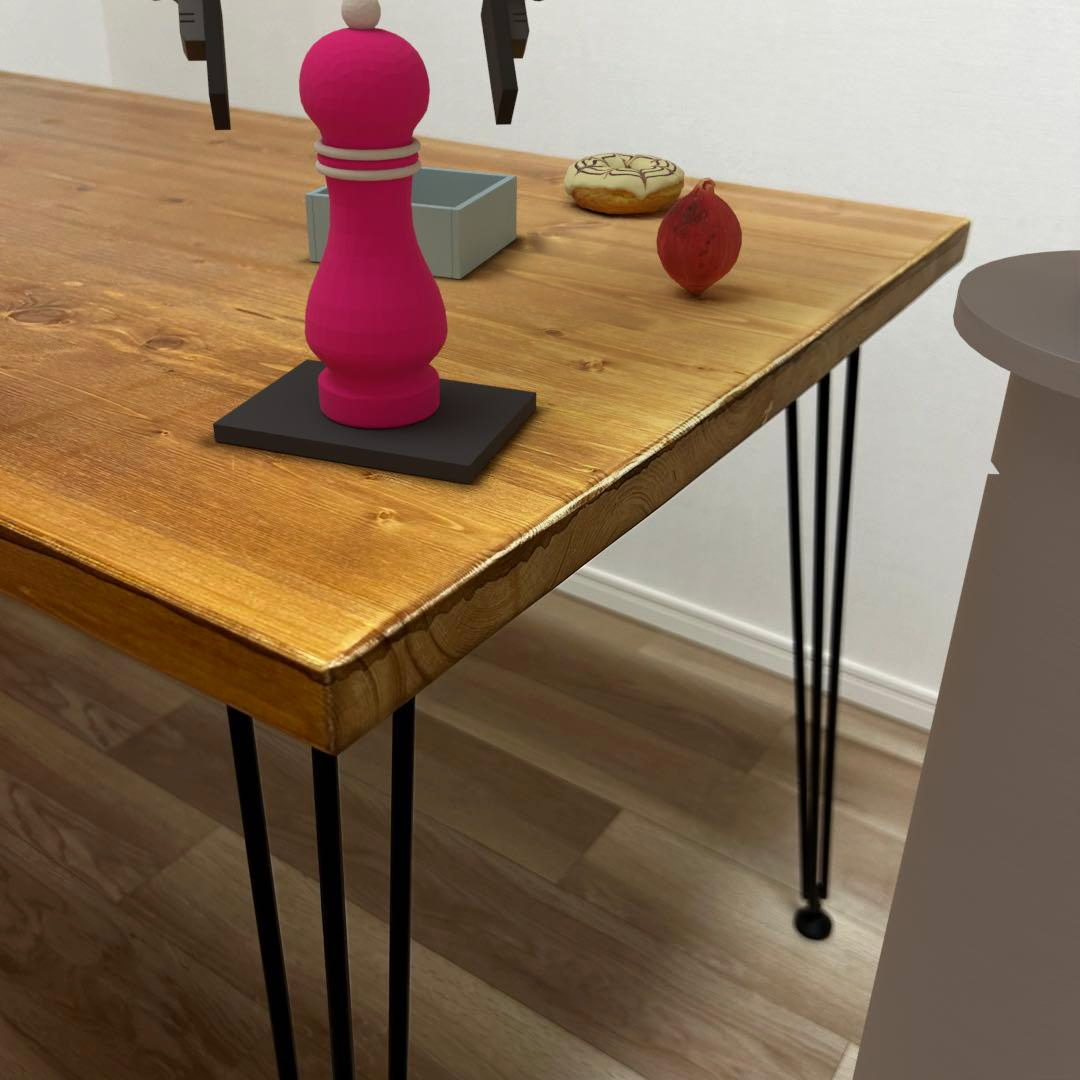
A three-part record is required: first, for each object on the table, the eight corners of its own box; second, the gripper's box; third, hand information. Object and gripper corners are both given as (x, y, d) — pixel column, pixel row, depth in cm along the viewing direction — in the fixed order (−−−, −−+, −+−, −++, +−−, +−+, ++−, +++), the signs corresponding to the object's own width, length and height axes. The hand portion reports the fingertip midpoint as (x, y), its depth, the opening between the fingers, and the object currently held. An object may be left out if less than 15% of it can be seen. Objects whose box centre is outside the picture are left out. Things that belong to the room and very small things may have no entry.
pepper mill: (436, 376, 67) (426, -17, 57) (461, 427, 61) (455, -4, 51) (305, 386, 65) (272, -17, 55) (317, 439, 59) (283, -4, 49)
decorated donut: (545, 209, 105) (545, 165, 103) (593, 185, 114) (594, 144, 112) (655, 223, 101) (658, 178, 100) (696, 198, 110) (700, 155, 108)
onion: (709, 312, 81) (719, 192, 77) (637, 295, 84) (644, 179, 80) (750, 292, 85) (762, 177, 81) (680, 277, 88) (689, 165, 84)
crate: (516, 238, 97) (517, 175, 94) (460, 279, 86) (459, 209, 84) (379, 223, 100) (376, 162, 97) (309, 261, 90) (304, 193, 87)
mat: (536, 409, 66) (536, 391, 65) (469, 484, 57) (469, 465, 57) (308, 375, 69) (307, 358, 69) (214, 441, 61) (212, 423, 60)
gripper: (549, -172, 68) (603, 150, 63) (93, -185, 64) (108, 162, 58) (573, -296, 61) (636, 55, 56) (61, -320, 57) (75, 60, 51)
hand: (366, 111), depth 57 cm, fingers open, 13 cm apart
